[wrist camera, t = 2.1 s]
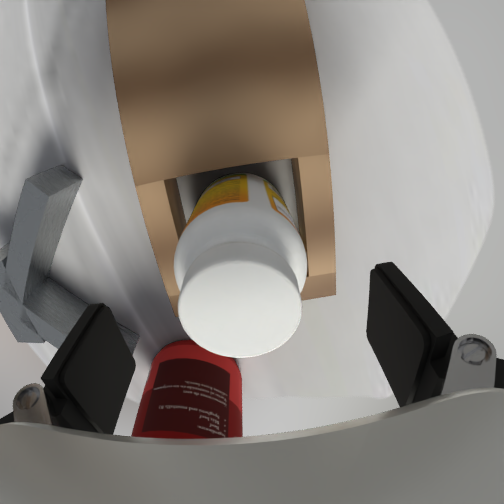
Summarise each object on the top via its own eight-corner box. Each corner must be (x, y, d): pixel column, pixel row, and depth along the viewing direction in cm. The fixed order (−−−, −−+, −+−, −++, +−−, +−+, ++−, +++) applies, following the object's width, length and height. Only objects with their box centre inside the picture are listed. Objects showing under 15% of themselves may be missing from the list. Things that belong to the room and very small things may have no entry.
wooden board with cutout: (121, 6, 12) (105, -7, 9) (286, -26, 11) (292, -45, 9) (182, 295, 20) (175, 317, 18) (326, 274, 20) (335, 294, 18)
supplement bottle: (187, 242, 19) (146, 352, 10) (210, 160, 16) (172, 212, 8) (268, 264, 19) (286, 382, 11) (298, 187, 17) (353, 265, 9)
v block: (77, 158, 16) (42, 172, 12) (145, 348, 23) (133, 384, 19) (-9, 196, 16) (-41, 213, 13) (59, 349, 23) (42, 378, 19)
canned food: (188, 404, 26) (175, 503, 16) (134, 352, 23) (98, 464, 13) (258, 383, 25) (264, 496, 15) (210, 323, 21) (194, 459, 12)
